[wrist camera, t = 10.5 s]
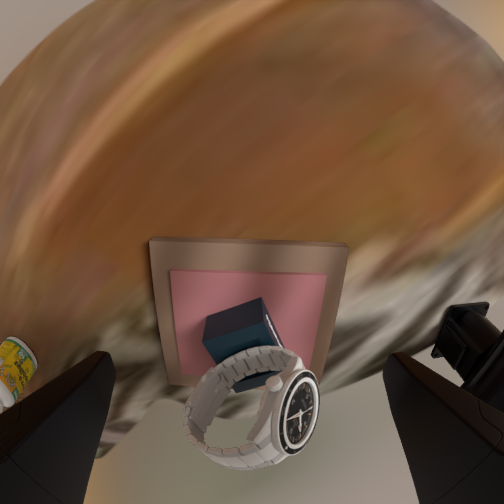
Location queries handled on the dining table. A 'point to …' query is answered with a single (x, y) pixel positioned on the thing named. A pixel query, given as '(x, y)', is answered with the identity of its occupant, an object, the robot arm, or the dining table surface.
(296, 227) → the dining table surface
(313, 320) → the pink square tray
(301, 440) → the watch
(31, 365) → the supplement bottle
